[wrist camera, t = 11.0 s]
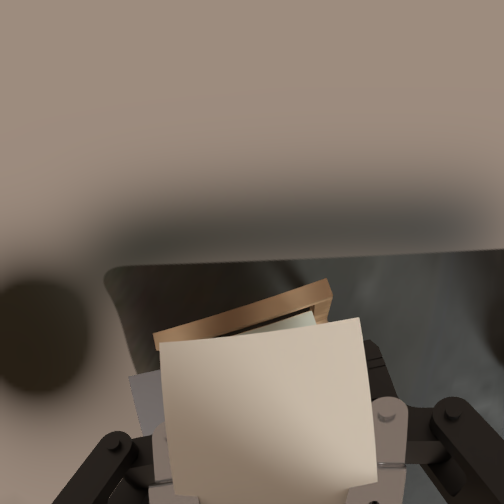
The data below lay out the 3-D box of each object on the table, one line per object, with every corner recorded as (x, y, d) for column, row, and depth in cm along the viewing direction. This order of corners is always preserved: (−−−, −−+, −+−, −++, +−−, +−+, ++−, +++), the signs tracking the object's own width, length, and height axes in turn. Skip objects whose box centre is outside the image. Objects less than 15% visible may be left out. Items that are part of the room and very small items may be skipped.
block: (330, 349, 16) (359, 317, 6) (340, 432, 14) (378, 508, 5) (244, 361, 16) (158, 342, 7) (252, 442, 14) (179, 519, 5)
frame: (322, 307, 29) (326, 278, 20) (361, 428, 24) (384, 454, 15) (200, 346, 30) (152, 333, 21) (234, 463, 25) (199, 499, 16)
